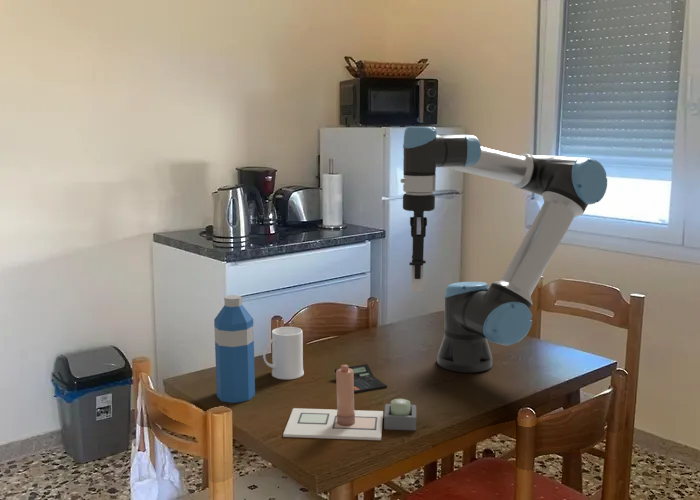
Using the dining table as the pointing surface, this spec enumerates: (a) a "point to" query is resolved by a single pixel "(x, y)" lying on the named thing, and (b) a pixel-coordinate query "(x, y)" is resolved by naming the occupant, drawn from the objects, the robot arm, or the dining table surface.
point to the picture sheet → (333, 425)
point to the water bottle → (234, 352)
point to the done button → (400, 407)
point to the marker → (345, 396)
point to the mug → (286, 353)
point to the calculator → (365, 379)
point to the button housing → (400, 419)
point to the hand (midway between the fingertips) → (417, 291)
